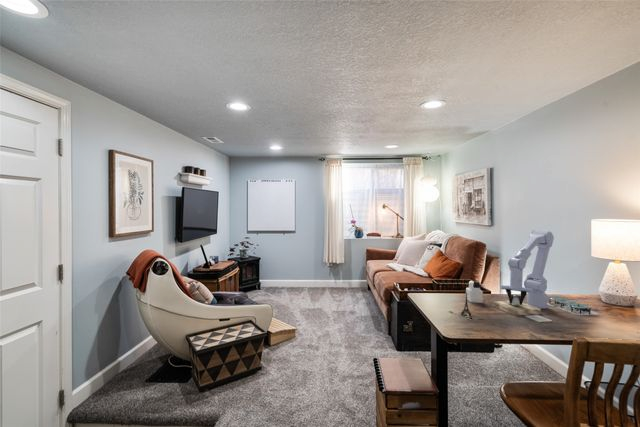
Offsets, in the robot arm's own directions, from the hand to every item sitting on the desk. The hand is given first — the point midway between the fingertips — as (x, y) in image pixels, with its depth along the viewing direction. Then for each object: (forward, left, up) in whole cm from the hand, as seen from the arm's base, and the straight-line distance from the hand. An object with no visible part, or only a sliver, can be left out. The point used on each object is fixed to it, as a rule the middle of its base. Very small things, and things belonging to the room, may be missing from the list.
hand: (515, 303), depth 167 cm
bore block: (0, 0, -3) cm, 3 cm away
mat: (0, +14, -3) cm, 14 cm away
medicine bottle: (+12, -18, -4) cm, 22 cm away
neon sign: (-42, +3, -4) cm, 42 cm away
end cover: (0, 0, -3) cm, 3 cm away
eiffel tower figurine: (+34, +3, -4) cm, 35 cm away
